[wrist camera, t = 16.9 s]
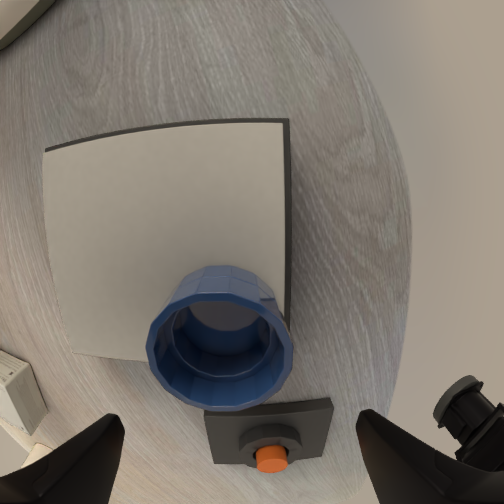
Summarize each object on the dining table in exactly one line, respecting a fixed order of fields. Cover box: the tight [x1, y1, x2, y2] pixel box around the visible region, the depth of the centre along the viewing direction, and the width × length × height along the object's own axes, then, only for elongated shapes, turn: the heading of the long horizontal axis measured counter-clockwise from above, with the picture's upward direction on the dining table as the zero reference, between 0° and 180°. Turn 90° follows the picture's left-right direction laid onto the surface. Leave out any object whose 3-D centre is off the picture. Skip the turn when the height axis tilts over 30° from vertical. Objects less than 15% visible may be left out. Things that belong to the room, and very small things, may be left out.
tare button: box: [256, 445, 288, 473], centre depth 18 cm, size 3×3×2 cm
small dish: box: [145, 265, 293, 411], centre depth 13 cm, size 6×6×4 cm
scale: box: [43, 118, 292, 362], centre depth 16 cm, size 16×15×3 cm
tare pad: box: [204, 398, 334, 468], centre depth 20 cm, size 11×8×3 cm
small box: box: [0, 350, 48, 436], centre depth 18 cm, size 8×8×5 cm
